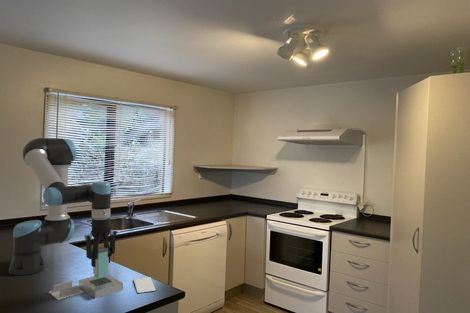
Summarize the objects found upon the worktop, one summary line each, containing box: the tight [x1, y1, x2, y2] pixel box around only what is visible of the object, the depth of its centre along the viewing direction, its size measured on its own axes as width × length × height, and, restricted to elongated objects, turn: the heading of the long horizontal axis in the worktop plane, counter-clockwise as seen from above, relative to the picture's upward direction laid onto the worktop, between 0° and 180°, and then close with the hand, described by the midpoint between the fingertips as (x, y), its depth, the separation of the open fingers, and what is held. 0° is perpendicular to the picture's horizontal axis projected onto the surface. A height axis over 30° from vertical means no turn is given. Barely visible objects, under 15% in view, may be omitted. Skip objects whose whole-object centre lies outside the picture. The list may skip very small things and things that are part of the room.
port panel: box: [78, 274, 124, 299], centre depth 147 cm, size 16×12×3 cm
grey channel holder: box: [48, 280, 84, 301], centre depth 142 cm, size 10×10×3 cm
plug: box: [93, 245, 109, 279], centre depth 147 cm, size 4×4×12 cm
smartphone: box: [133, 276, 157, 295], centre depth 151 cm, size 8×1×16 cm
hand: (100, 272), depth 147 cm, fingers closed on plug, 4 cm apart
